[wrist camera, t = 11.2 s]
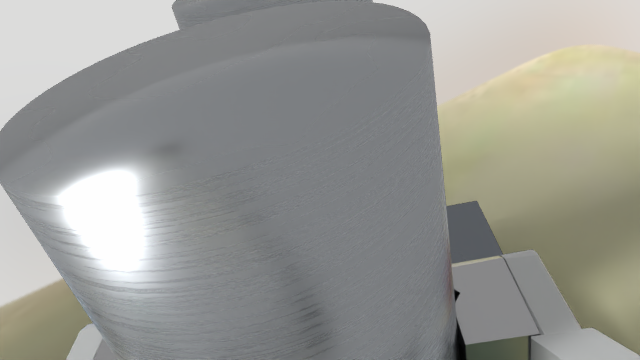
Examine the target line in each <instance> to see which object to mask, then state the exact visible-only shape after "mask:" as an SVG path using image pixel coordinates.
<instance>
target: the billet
mask: <svg viewBox="0 0 640 360" xmlns="http://www.w3.org/2000/svg"><path fill="white" fill-rule="evenodd" d="M0 184H1V185H2V187H3V188H4V190H5V191H6V193H7V194H8V196H9V197H10V199H11V200H12V201H13V203H14V205H15V206H16V208H17V209H18V211H19V212H20V214H21V215H22V217H23V218H24V220H25V221H26V223H27V224H28V226H29V227H30V229H31V230H32V232H33V233H34V235H35V236H36V238H37V239H38V241H39V242H40V244H41V245H42V247H43V248H44V250H45V251H46V253H47V254H48V256H49V257H50V259H51V260H52V262H53V263H54V265H55V266H56V268H57V269H58V271H59V272H60V274H61V276H62V277H63V279H64V280H65V282H66V283H67V285H68V286H69V288H70V289H71V291H72V292H73V294H74V295H75V297H76V298H77V300H78V301H79V303H80V304H81V306H82V307H83V309H84V310H85V312H86V313H87V315H88V316H89V318H90V319H91V321H92V322H93V324H94V325H95V327H96V328H97V330H98V331H99V333H100V334H101V336H102V337H103V339H104V340H105V342H106V343H107V345H108V346H109V348H110V349H111V351H112V352H113V354H114V355H115V357H116V358H117V360H460V350H459V341H458V331H457V320H456V307H455V296H454V285H453V274H452V264H451V253H450V242H449V232H448V221H447V210H446V200H445V189H444V178H443V168H442V157H441V146H440V135H439V125H438V114H437V103H436V93H435V82H434V71H433V61H432V51H431V40H430V33H429V30H428V28H427V26H426V24H425V23H424V22H423V21H422V20H421V19H420V18H419V17H417V16H416V15H414V14H412V13H411V12H409V11H406V10H404V9H401V8H398V7H395V6H390V5H386V4H380V3H372V2H361V1H326V2H311V3H301V4H293V5H285V6H278V7H272V8H267V9H261V10H256V11H251V12H246V13H241V14H237V15H232V16H228V17H224V18H220V19H216V20H212V21H209V22H205V23H201V24H198V25H195V26H191V27H188V28H185V29H181V30H178V31H175V32H172V33H169V34H166V35H164V36H160V37H157V38H155V39H152V40H149V41H147V42H144V43H142V44H139V45H137V46H134V47H131V48H129V49H127V50H124V51H122V52H119V53H117V54H115V55H112V56H110V57H108V58H106V59H104V60H101V61H99V62H97V63H95V64H93V65H91V66H90V67H87V68H85V69H83V70H81V71H79V72H77V73H76V74H74V75H72V76H70V77H68V78H66V79H65V80H63V81H62V82H60V83H58V84H56V85H55V86H53V87H52V88H50V89H48V90H47V91H45V92H44V93H42V94H41V95H40V96H38V97H37V98H35V99H34V100H32V101H31V102H30V103H29V104H27V105H26V106H25V107H24V108H22V109H21V110H20V111H19V112H18V113H16V115H15V116H13V118H11V120H9V121H8V122H7V123H6V125H5V126H4V127H3V128H2V130H1V131H0Z"/></svg>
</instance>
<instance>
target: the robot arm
mask: <svg viewBox="0 0 640 360" xmlns="http://www.w3.org/2000/svg"><path fill="white" fill-rule="evenodd" d="M452 274H453V285H454V296H455V307H456V320H457V331H458V341H459V350H460V360H640V355H638V354H637V353H635V352H633V351H632V350H630V349H628V348H626V347H625V346H623V345H621V344H620V343H618V342H616V341H615V340H613V339H611V338H610V337H608V336H606V335H605V334H603V333H601V332H600V331H598V330H596V329H594V328H584V329H582V328H581V326H580V325H579V323H578V321H577V319H576V318H575V316H574V314H573V313H572V311H571V309H570V307H569V306H568V304H567V302H566V301H565V299H564V297H563V296H562V294H561V292H560V290H559V289H558V287H557V285H556V284H555V282H554V280H553V279H552V277H551V275H550V273H549V272H548V270H547V268H546V267H545V265H544V263H543V262H542V260H541V258H540V256H539V255H538V253H537V252H535V251H534V250H532V249H531V250H526V251H520V252H515V253H509V254H504V255H501V256H494V257H488V258H482V259H477V260H471V261H466V262H460V263H454V264H452ZM66 360H117V358H116V357H115V355H114V354H113V352H112V351H111V349H110V348H109V346H108V345H107V343H106V342H105V340H104V339H103V337H102V336H101V334H100V333H99V331H98V330H97V328H96V327H95V325H94V324H88V325H86V326H85V327H84V328H83V329H82V330H80V332H79V334H78V336H77V338H76V340H75V342H74V344H73V346H72V348H71V350H70V352H69V354H68V356H67V358H66Z"/></svg>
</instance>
